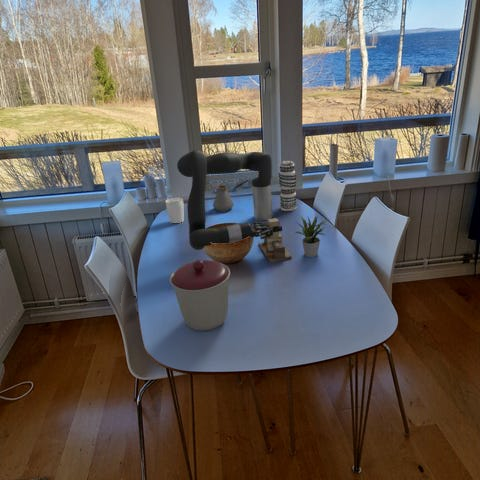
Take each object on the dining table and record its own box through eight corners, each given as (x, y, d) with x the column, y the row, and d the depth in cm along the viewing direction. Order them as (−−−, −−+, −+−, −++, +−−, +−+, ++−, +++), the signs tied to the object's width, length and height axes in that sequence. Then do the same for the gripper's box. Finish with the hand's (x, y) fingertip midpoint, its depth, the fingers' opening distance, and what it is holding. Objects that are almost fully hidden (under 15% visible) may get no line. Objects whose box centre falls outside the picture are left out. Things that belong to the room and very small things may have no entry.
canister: (182, 344, 117) (171, 281, 109) (174, 312, 133) (163, 254, 125) (242, 329, 121) (235, 267, 113) (226, 299, 137) (220, 243, 129)
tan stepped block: (267, 248, 168) (265, 219, 163) (280, 245, 169) (278, 217, 164) (269, 251, 165) (267, 222, 160) (282, 248, 166) (280, 220, 161)
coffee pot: (214, 214, 217) (210, 187, 210) (212, 207, 227) (209, 181, 221) (253, 209, 218) (251, 182, 212) (250, 202, 229) (248, 177, 223)
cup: (184, 224, 206) (181, 202, 201) (167, 225, 207) (163, 203, 202) (187, 218, 214) (184, 196, 210) (170, 219, 215) (166, 197, 210)
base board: (258, 244, 176) (257, 233, 174) (278, 241, 177) (277, 229, 175) (269, 262, 160) (269, 249, 157) (291, 258, 161) (291, 246, 159)
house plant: (330, 263, 154) (330, 224, 148) (293, 263, 157) (292, 224, 151) (330, 247, 167) (330, 210, 160) (296, 247, 170) (295, 211, 163)
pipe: (266, 237, 174) (266, 232, 173) (271, 236, 174) (270, 231, 174) (277, 252, 160) (276, 247, 159) (282, 251, 160) (282, 246, 159)
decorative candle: (276, 207, 217) (274, 161, 207) (291, 204, 221) (289, 158, 211) (285, 212, 210) (283, 164, 200) (300, 208, 213) (299, 161, 203)
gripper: (242, 231, 153) (285, 223, 156) (234, 218, 166) (275, 212, 169) (243, 248, 156) (286, 241, 159) (236, 235, 169) (276, 228, 172)
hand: (280, 226), depth 164 cm, fingers closed on tan stepped block, 3 cm apart
